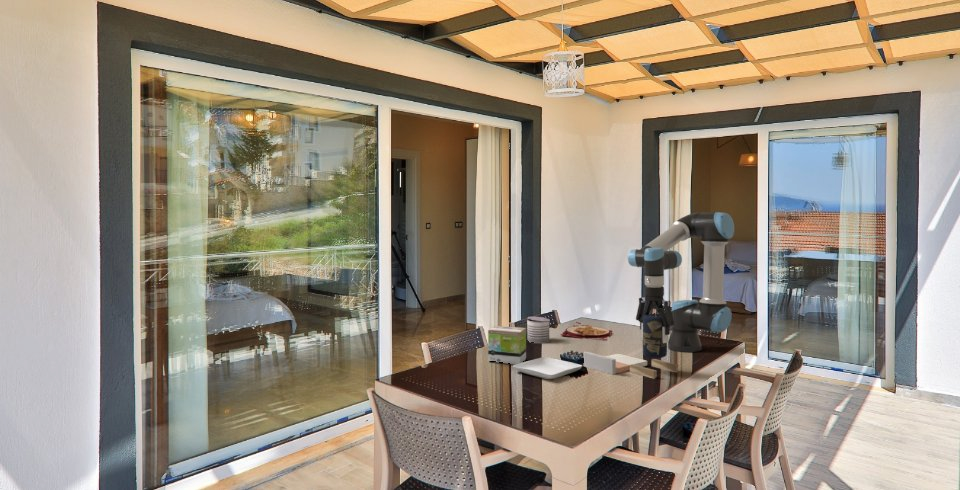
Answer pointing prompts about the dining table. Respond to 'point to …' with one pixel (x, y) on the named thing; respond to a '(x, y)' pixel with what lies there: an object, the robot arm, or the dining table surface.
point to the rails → (653, 373)
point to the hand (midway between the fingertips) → (654, 340)
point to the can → (538, 329)
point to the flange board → (611, 362)
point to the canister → (653, 336)
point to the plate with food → (587, 332)
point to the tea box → (507, 344)
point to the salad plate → (547, 367)
